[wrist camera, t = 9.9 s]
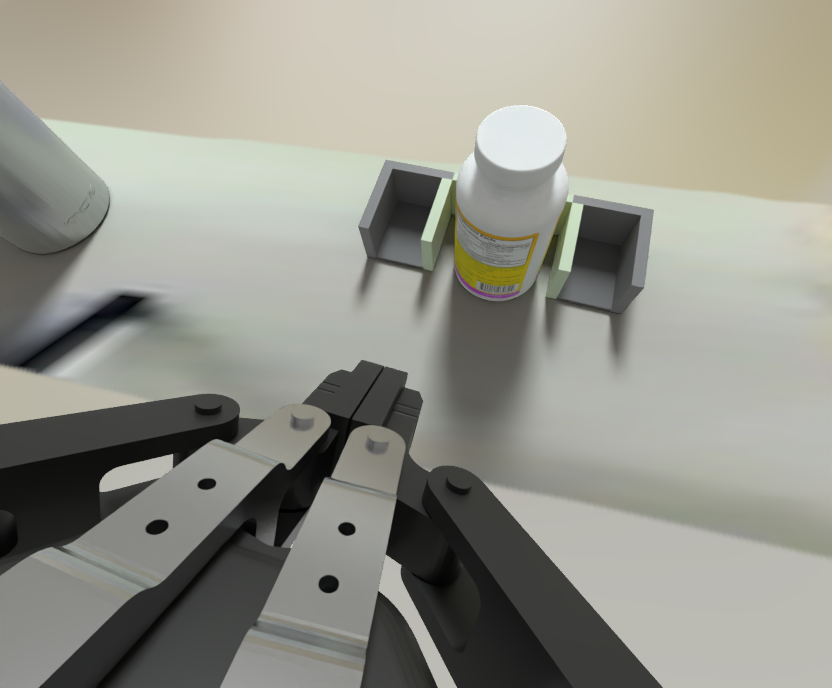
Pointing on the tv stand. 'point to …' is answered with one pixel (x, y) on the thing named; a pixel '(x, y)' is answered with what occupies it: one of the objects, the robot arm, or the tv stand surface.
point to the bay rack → (577, 234)
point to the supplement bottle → (509, 201)
